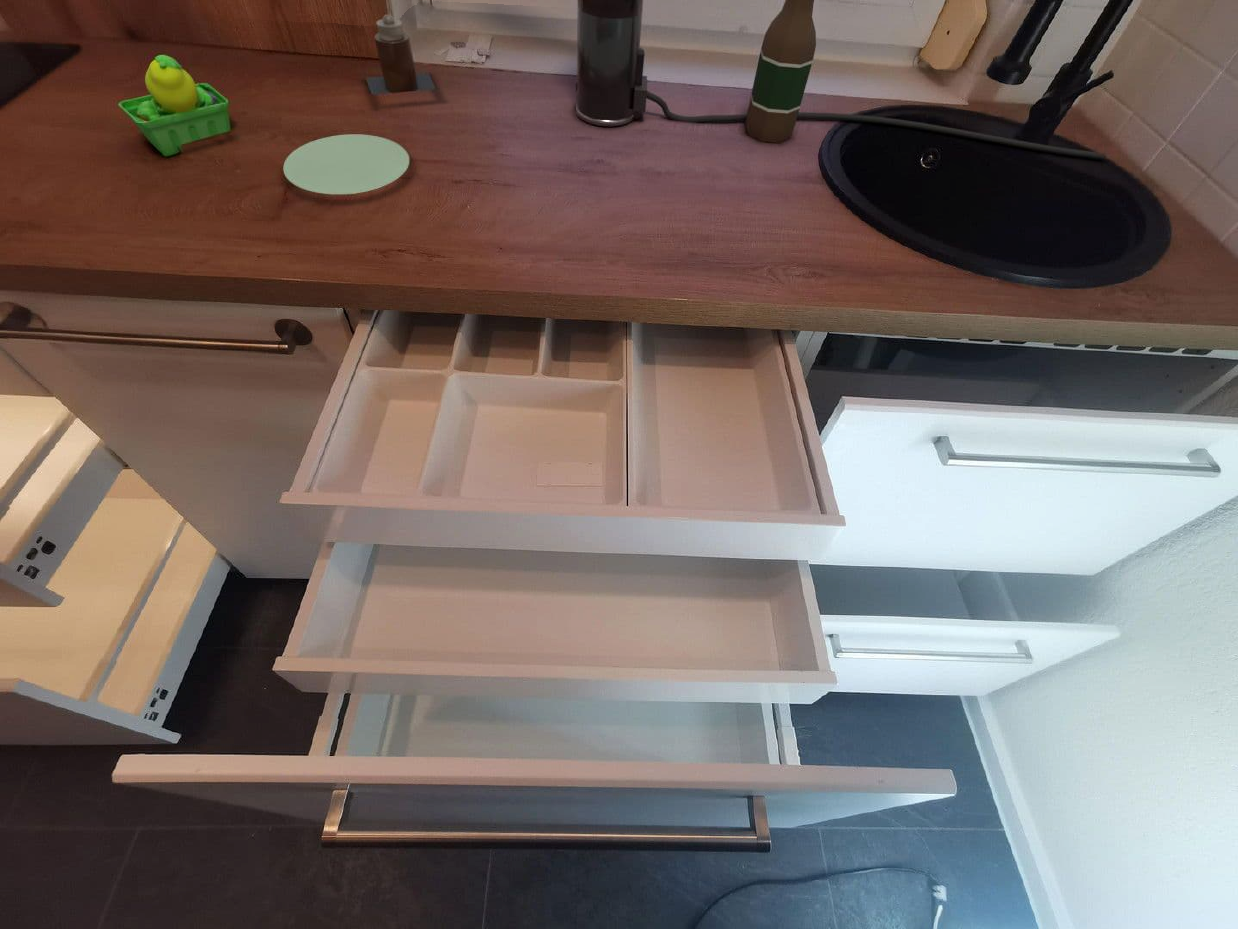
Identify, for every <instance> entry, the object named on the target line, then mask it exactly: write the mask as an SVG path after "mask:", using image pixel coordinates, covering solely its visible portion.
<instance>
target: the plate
mask: <svg viewBox="0 0 1238 929" xmlns="http://www.w3.org/2000/svg"><path fill="white" fill-rule="evenodd" d="M409 165H410V155H409V153H408V151H407V150H406V149H405V148H404V147H403V146H402V145H401V144H399V143H397V142H396V141H393V140H391V139H388V138H386V137H381V136H376V135H372V134H371V135H370V134H362V133H361V134H357V133H355V134H354V133H353V134H352V133H351V134H350V133H349V134H338V135H332V136H327V137H321V138H318V139H316V140H312V141H310V142H308V143H305V144H303V145H301V146H299V147H298V148H296V149H295V150H293V151H291V153H290V154H289V155H288V156H287V157H286V159H285V161H284V162H283V166H282V167H283V168H282V171H283V175H284V176H285V179H287V180H288V181H289V182H290V183H291V184H293V185H294V186H296V187H298V188H300V189H303V190H305V191H310V192H312V193H316V194H317V193H318V194H324V195H353V194H360V193H365V192H369V191H374V190H377V189H379V188H382V187H385V186H387V185H389V184H391V183H393V182H394V181H396V180H398V179H399V178H400V177H402V176H403V174H405V172H406V171H407V170H408V168H409Z"/></svg>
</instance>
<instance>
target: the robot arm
mask: <svg viewBox="0 0 1238 929" xmlns="http://www.w3.org/2000/svg"><path fill="white" fill-rule="evenodd" d="M643 8H644V0H577V19H576V20H577V23H576V24H577V25H576V27H577V30H576V31H577V33H576V34H577V35H576V37H577V38H576V57H577V58H576V83H575V92H576V105H575V114H576V115H577V117H578V118H579V119H581V120H582V121H584V122H585V123H588V124H591V125H594V126H600V127H618V126H624V125H626V124H629V123H631V122H632V121H633V120H637V119H640V115H641V114H640V113H645V112H646V110H647V100H650V101H651V102H654V103H656V104H657V105H658V106H660V108H661V109H662V113H663V114H664V116H665V117H666V118H668V119H670V120H671V121H674V122H683V123H691V124H699V123H700V124H701V123H715V122H717V123H721V122H722V123H728V122H744V121H745V122H746V118H747V113H744V114H743V113H741V114H711V115H699V116H682V115H678V114H676V113H674V112H672V111H670V109H669V107H668V104H667V102H666V101H665V100H664V99H663V98H662V97H660V96H658V95H657V94H654V93H652V92H650V91H648V76H647V75H644V65H645V50H644V48H643V47H642V46H641V37H642V36H641V35H642V22H643ZM797 120H834V121H846V122H847V121H848V122H860V123H870V124H879V125H887V126H888V125H889V126H896V127H903V128H910V129H917V130H923V131H928V132H933V133H934V132H935V133H940V134H946V135H950V136H957V137H961V138H967V139H973V140H979V141H983V142H988V143H994V144H1000V145H1005V146H1009V147H1015V148H1021V149H1027V150H1031V151H1038V152H1043V153H1050V154H1056V155H1062V156H1063V155H1064V156H1070V157H1078V158H1084V159H1092V160H1098V161H1099V160H1100V161H1104V160H1105V158H1106V157H1107V153H1103V152H1098V151H1097V152H1095V151H1087V150H1081V149H1073V148H1066V147H1060V146H1059V147H1058V146H1052V145H1046V144H1042V143H1036V142H1035V143H1034V142H1029V141H1024V140H1019V139H1013V138H1007V137H1003V136H996V135H991V134H986V133H980V132H976V131H970V130H965V129H959V128H955V127H954V128H953V127H947V126H944V125H943V126H942V125H936V124H930V123H924V122H919V121H912V120H904V119H896V118H890V117H882V116H875V115H874V116H873V115H864V114H862V115H861V114H851V113H850V114H849V113H838V112H837V113H836V112H835V113H834V112H805V111H803V112H802V111H801V112H800V111H799V112H798V116H797Z"/></svg>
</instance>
